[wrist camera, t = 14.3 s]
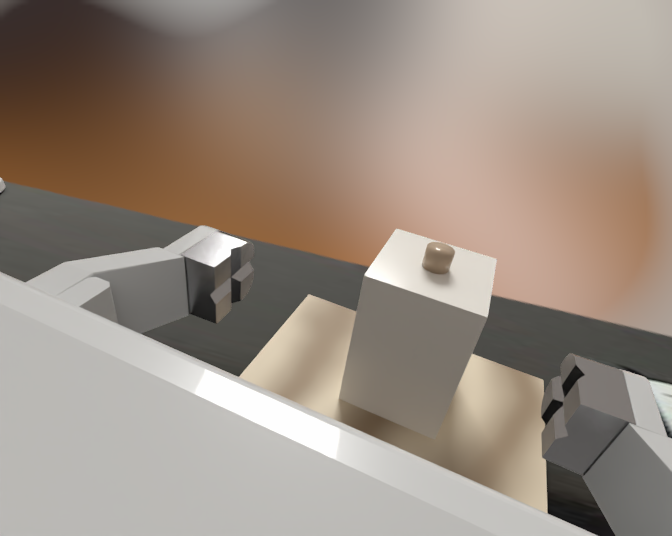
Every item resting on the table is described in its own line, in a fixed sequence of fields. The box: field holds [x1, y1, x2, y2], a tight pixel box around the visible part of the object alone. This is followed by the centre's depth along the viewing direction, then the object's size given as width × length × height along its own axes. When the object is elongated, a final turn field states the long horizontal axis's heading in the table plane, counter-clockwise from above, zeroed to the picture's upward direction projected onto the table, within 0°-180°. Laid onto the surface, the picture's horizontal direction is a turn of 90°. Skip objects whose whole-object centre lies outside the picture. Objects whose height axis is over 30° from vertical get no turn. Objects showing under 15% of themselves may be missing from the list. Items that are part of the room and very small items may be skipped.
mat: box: [239, 295, 547, 513], centre depth 29 cm, size 20×14×1 cm
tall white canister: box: [338, 229, 497, 440], centre depth 27 cm, size 7×7×11 cm
